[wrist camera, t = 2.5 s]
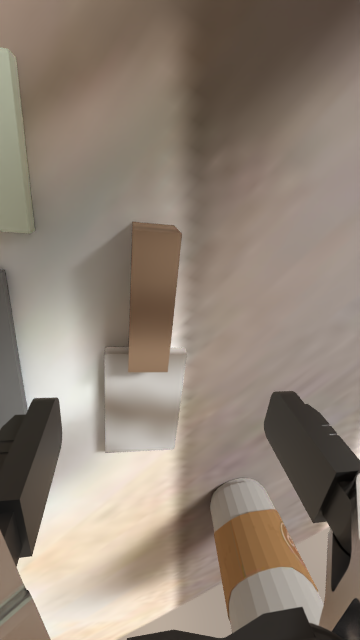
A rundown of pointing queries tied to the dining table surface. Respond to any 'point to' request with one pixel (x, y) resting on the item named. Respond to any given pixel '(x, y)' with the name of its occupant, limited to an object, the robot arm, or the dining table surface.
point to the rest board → (13, 153)
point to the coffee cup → (258, 556)
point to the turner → (147, 350)
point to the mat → (9, 361)
